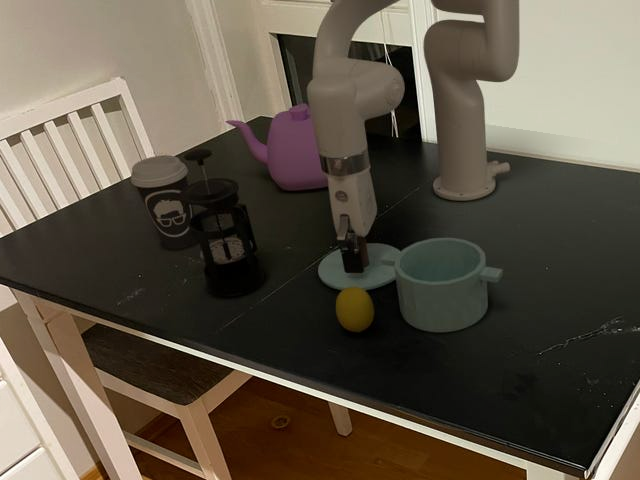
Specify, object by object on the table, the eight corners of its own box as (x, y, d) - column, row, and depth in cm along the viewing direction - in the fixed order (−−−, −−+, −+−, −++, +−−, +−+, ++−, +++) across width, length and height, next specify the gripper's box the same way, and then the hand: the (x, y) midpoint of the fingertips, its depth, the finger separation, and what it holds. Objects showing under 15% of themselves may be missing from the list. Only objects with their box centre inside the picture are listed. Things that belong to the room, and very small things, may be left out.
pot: (407, 276, 123) (402, 230, 118) (515, 293, 117) (514, 246, 112) (370, 320, 113) (362, 273, 108) (486, 342, 108) (483, 293, 102)
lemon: (370, 344, 109) (362, 298, 104) (335, 341, 110) (325, 296, 105) (382, 322, 113) (374, 278, 108) (347, 320, 114) (339, 275, 109)
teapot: (349, 151, 167) (338, 84, 158) (352, 190, 150) (340, 118, 141) (247, 162, 165) (230, 95, 155) (239, 203, 148) (219, 130, 139)
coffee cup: (218, 233, 139) (196, 157, 129) (183, 257, 132) (156, 179, 123) (180, 225, 142) (155, 150, 133) (143, 248, 135) (114, 171, 126)
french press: (241, 304, 119) (201, 169, 105) (193, 295, 122) (148, 163, 107) (280, 267, 127) (248, 138, 113) (235, 260, 130) (198, 133, 116)
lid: (345, 244, 133) (339, 212, 129) (420, 255, 128) (416, 223, 125) (302, 286, 122) (295, 253, 118) (382, 300, 118) (377, 267, 114)
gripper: (355, 184, 106) (372, 285, 117) (380, 138, 120) (392, 232, 130) (305, 184, 107) (326, 284, 118) (335, 138, 120) (351, 232, 131)
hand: (361, 256), depth 124 cm, fingers open, 9 cm apart
